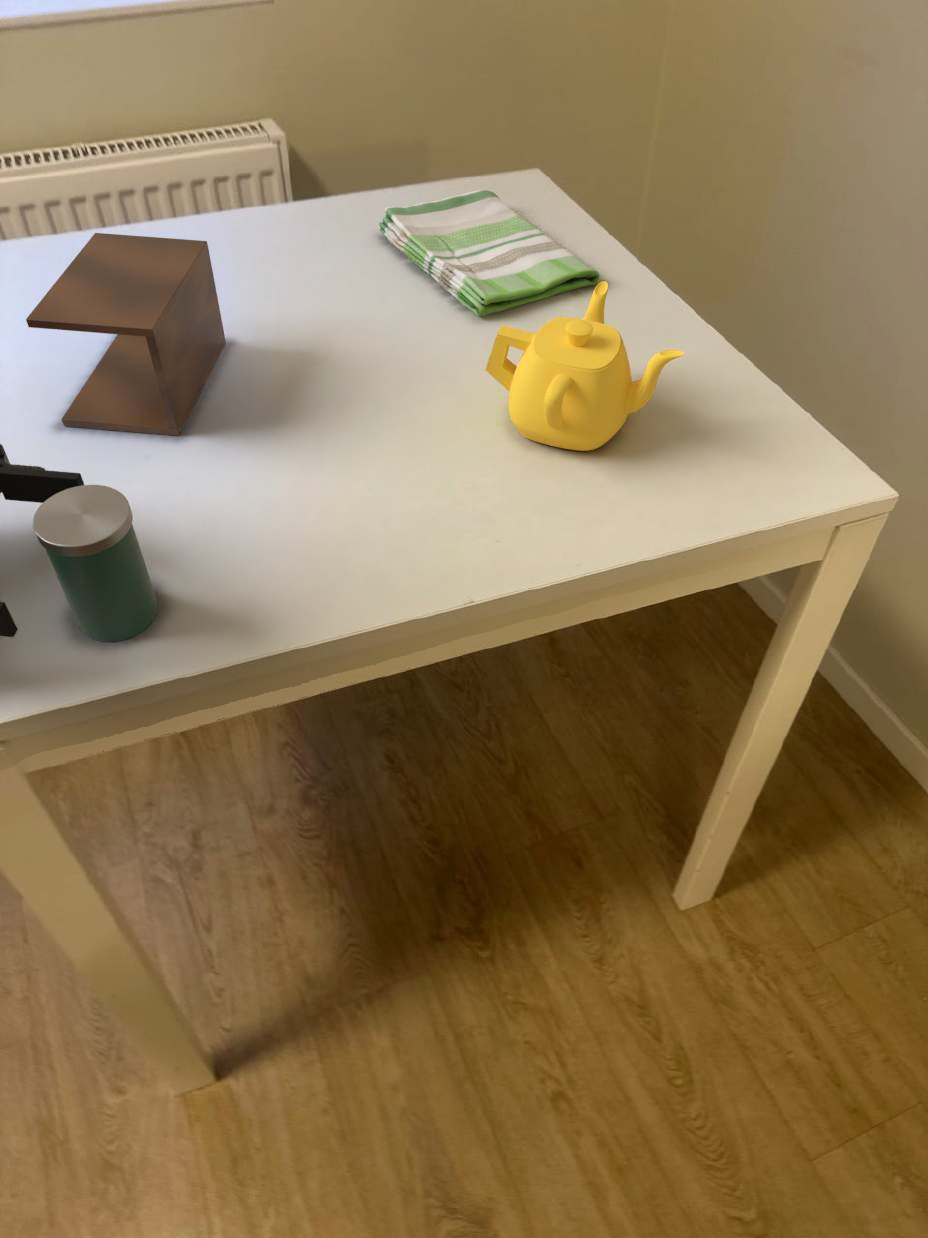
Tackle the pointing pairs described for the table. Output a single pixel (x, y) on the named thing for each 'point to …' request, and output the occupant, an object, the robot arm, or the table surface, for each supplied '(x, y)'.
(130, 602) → the tin
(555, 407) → the teapot
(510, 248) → the dish towel
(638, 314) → the table surface
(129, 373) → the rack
